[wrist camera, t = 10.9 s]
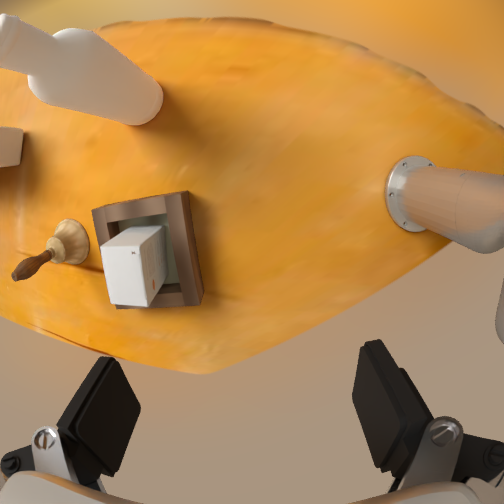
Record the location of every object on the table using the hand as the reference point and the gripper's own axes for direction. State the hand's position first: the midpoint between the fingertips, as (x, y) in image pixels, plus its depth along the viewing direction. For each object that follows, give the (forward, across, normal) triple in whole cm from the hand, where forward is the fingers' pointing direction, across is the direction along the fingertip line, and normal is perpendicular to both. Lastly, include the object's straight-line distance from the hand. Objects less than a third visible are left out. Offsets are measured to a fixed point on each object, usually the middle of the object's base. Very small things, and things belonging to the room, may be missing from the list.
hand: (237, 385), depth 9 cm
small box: (+31, +16, +3) cm, 35 cm away
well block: (+32, +15, +3) cm, 35 cm away
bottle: (+32, +14, -20) cm, 40 cm away
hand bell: (+31, +31, 0) cm, 44 cm away
